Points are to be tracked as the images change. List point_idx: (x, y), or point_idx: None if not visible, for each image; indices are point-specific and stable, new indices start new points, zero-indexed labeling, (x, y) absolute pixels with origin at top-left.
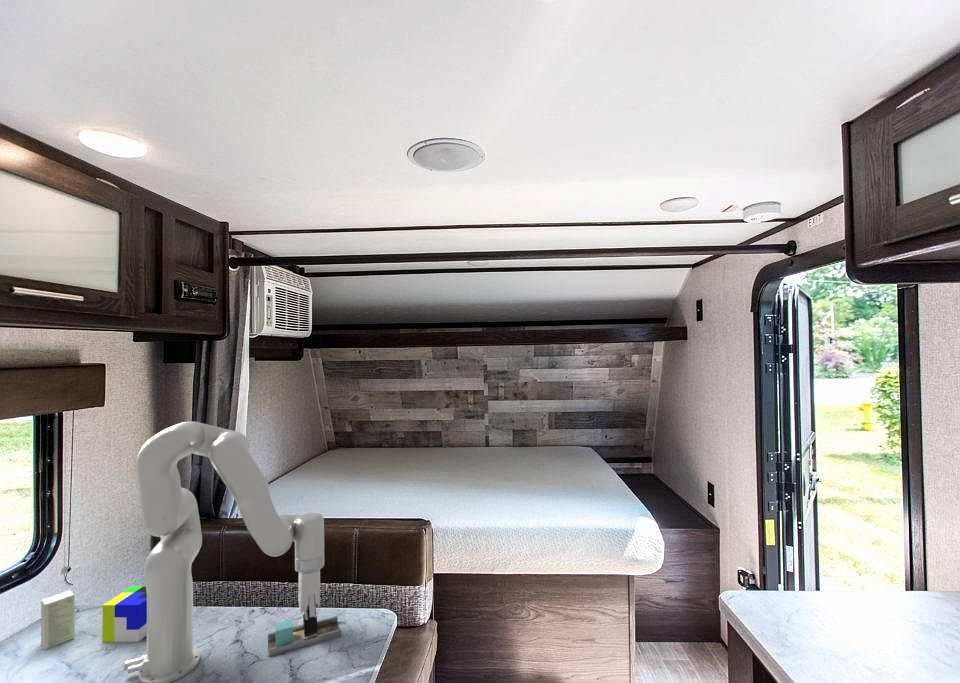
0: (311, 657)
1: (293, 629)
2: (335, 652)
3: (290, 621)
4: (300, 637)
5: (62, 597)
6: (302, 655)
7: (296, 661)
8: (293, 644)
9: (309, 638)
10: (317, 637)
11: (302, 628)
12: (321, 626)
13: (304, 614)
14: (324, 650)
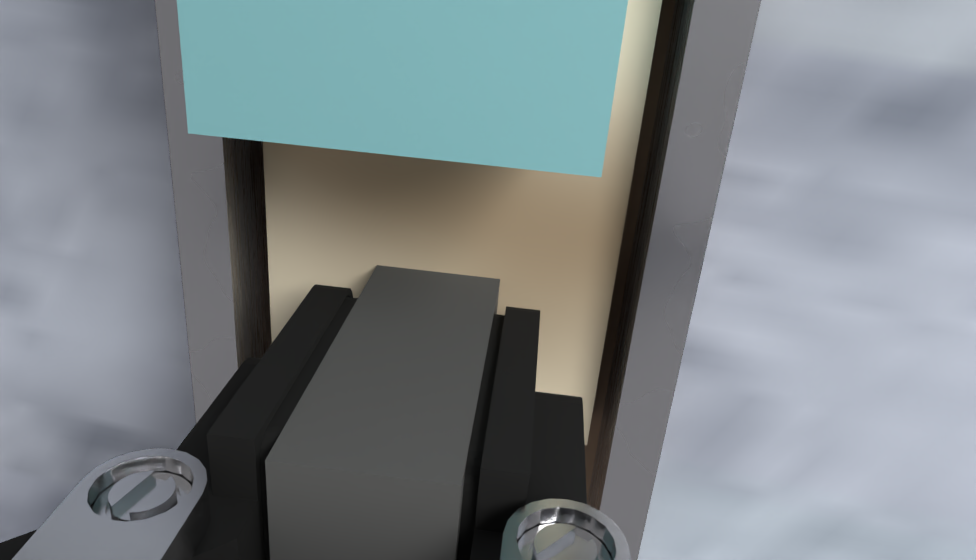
0: (38, 239)
1: (663, 146)
2: (46, 473)
3: (489, 124)
4: (394, 207)
5: None
6: (123, 148)
7: (11, 49)
8: (166, 63)
9: (201, 321)
10: (197, 416)
11: (634, 286)
12: (591, 501)
13: (441, 492)
14: (128, 393)
